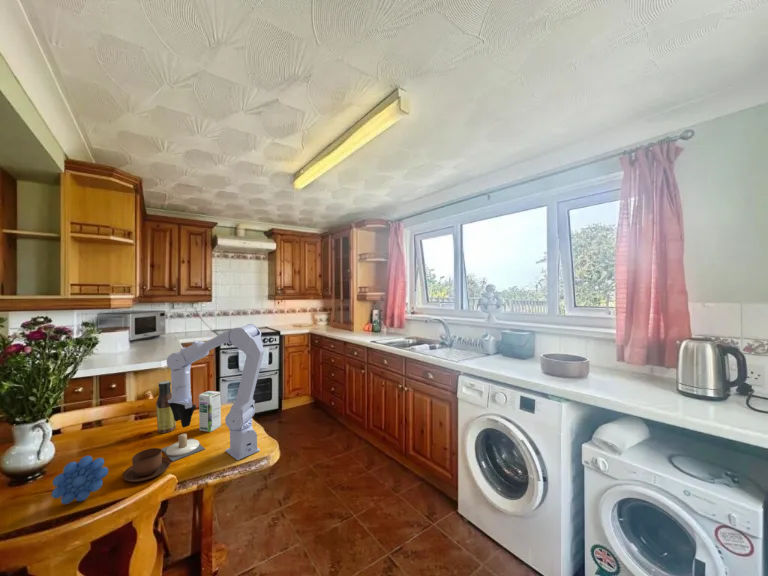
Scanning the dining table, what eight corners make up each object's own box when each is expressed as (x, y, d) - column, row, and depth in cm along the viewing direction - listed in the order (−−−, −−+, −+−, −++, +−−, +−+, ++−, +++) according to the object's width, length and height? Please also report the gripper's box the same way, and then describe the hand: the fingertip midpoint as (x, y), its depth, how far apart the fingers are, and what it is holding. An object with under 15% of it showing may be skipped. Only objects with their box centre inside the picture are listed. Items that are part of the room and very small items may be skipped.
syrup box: (198, 430, 128) (197, 394, 127) (210, 424, 133) (209, 389, 133) (210, 432, 126) (209, 396, 126) (221, 425, 132) (220, 391, 131)
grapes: (113, 485, 94) (111, 444, 94) (106, 498, 88) (105, 455, 88) (59, 498, 88) (57, 455, 88) (48, 514, 82) (46, 468, 82)
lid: (203, 447, 114) (203, 434, 114) (171, 459, 106) (170, 445, 106) (193, 438, 120) (192, 426, 120) (162, 449, 113) (161, 436, 113)
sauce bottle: (165, 426, 132) (163, 379, 131) (179, 426, 131) (178, 379, 131) (153, 434, 125) (151, 384, 125) (168, 434, 125) (166, 384, 124)
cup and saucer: (120, 474, 100) (120, 454, 99) (166, 458, 108) (165, 440, 108) (126, 491, 91) (125, 470, 91) (175, 473, 100) (174, 453, 99)
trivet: (204, 449, 113) (204, 448, 113) (172, 461, 106) (172, 460, 106) (192, 438, 121) (192, 437, 121) (161, 449, 113) (161, 448, 113)
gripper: (161, 384, 114) (162, 421, 115) (174, 392, 105) (176, 433, 105) (183, 379, 120) (184, 414, 120) (198, 387, 110) (199, 426, 111)
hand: (182, 423), depth 113 cm, fingers open, 7 cm apart
